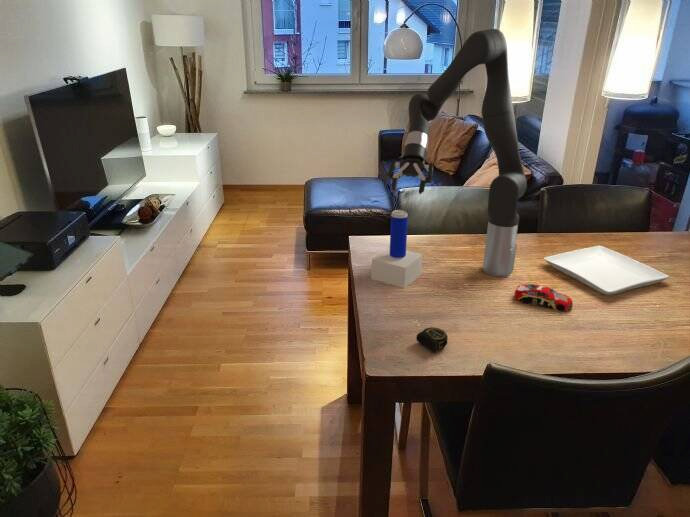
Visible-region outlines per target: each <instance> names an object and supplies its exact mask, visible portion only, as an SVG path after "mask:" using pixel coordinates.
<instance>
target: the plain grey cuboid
mask: <svg viewBox="0 0 690 517" xmlns="http://www.w3.org/2000/svg"><path fill="white" fill-rule="evenodd" d="M423 258H424V257H423V254H422V253H417V252H413V251H410V250H406V256H405V257H404V258H403V259H393V258H392V257H391V256H390V246H389V247H387V248H386V249H385V250H382V251H381V252H380V253H378V254H377V255H376V256H374V257H373V258H371V273H370V274H371V275H370V276H371V277H370V278H371V279H372V280H375V281H379V282H382V283H385V284H388V285H392V286H395V287H399V288H403V289H405V288H406V287H408V286H409V285H410V284H412V282H414V281H415V280H416V279H418V278H419V277H420V275H422V270H423V269H422V268H423Z"/></svg>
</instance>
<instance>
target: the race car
mask: <svg viewBox="0 0 690 517" xmlns="http://www.w3.org/2000/svg"><path fill="white" fill-rule="evenodd" d="M513 297H514V299H515V300H517V301H518V302H522V304H525V305H529V304H530V305H533V306H539V307H543V308H548V309H552V310H556V311H558V312H561V313H563V312H565V311H569V310H571V309H572V308H573V306H574V303H573V300H572V298H571V297H570V296H568V295H566V294H565V293H561V292H558V291H556V290H554V288H551V287H549V286H546V285H542V284H535V283H534V284H532V283H528V284H518V286H517V288H516V289H515V291H514V296H513Z"/></svg>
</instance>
